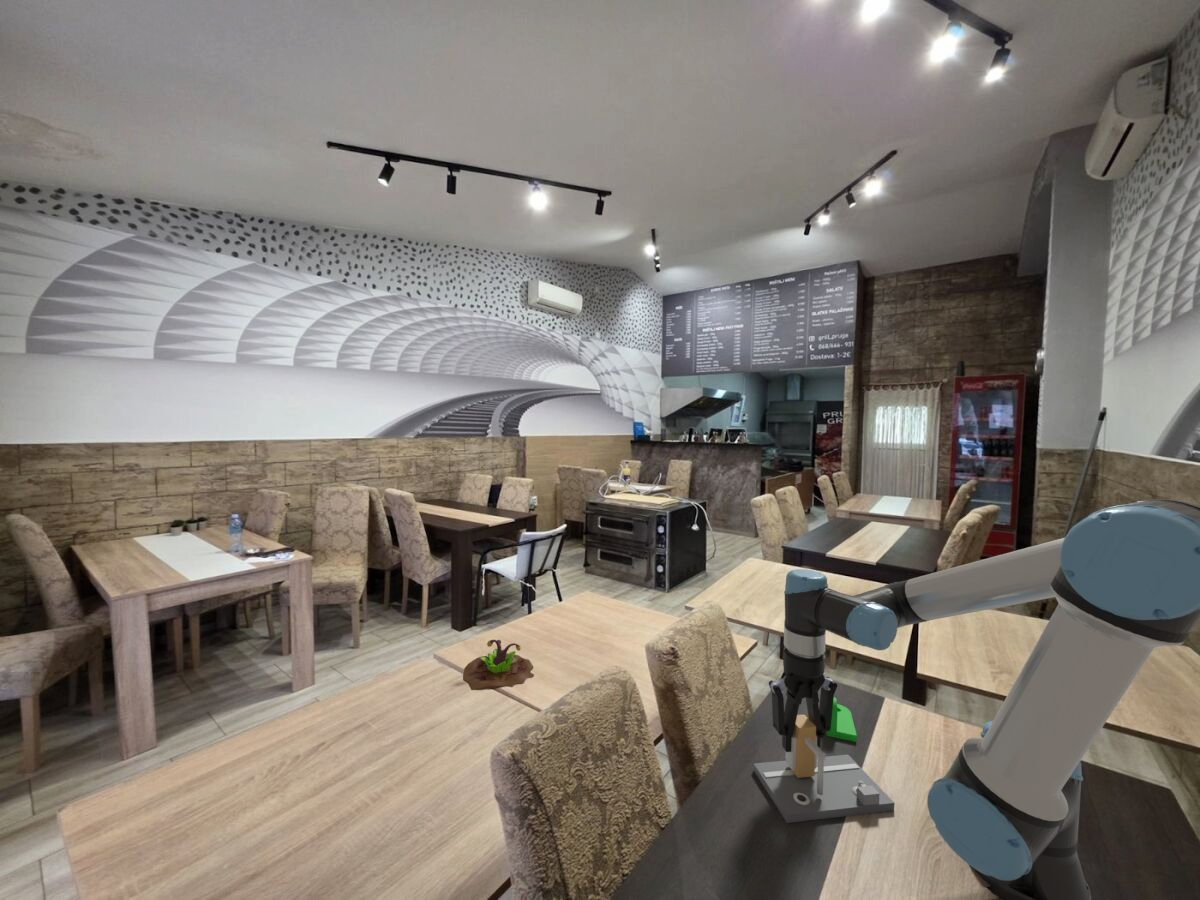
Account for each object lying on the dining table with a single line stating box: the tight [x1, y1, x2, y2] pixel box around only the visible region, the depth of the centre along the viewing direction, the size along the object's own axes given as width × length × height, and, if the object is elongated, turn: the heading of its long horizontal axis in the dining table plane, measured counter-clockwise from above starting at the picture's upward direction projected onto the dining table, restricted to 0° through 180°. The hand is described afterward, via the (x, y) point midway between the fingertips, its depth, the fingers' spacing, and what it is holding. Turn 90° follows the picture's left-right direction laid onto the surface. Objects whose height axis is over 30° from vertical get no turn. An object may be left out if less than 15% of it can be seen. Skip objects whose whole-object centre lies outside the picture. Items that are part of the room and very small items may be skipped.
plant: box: [462, 639, 535, 691], centre depth 134 cm, size 20×20×11 cm
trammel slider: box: [791, 714, 826, 795], centre depth 93 cm, size 9×4×10 cm, turn 8°
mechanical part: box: [825, 696, 858, 743], centre depth 113 cm, size 12×6×8 cm, turn 160°
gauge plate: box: [753, 754, 895, 824], centre depth 93 cm, size 13×21×4 cm, turn 98°
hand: (800, 764), depth 95 cm, fingers closed on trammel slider, 3 cm apart
